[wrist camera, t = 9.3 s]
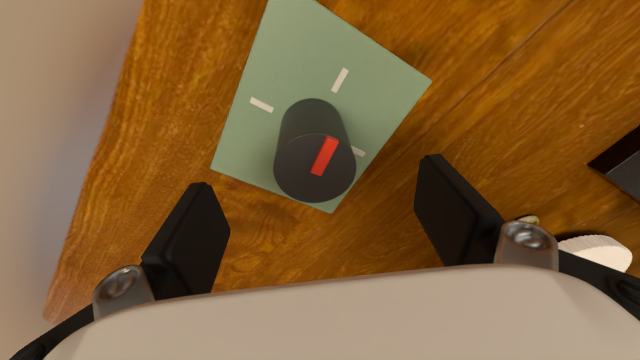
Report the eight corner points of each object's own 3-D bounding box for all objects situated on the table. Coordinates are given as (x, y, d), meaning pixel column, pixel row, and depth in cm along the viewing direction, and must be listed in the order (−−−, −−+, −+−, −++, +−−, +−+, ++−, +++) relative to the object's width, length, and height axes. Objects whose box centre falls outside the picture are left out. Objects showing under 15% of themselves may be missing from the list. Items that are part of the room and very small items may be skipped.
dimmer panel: (328, 192, 23) (331, 215, 20) (220, 148, 20) (208, 170, 17) (414, 70, 17) (434, 82, 14) (281, -20, 14) (276, -27, 11)
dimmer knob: (327, 163, 17) (335, 215, 13) (272, 144, 16) (261, 194, 12) (353, 112, 15) (373, 154, 11) (293, 87, 14) (289, 122, 10)
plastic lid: (476, 297, 35) (487, 315, 33) (529, 229, 27) (549, 247, 25) (562, 292, 37) (578, 308, 35) (636, 226, 29) (663, 243, 27)
